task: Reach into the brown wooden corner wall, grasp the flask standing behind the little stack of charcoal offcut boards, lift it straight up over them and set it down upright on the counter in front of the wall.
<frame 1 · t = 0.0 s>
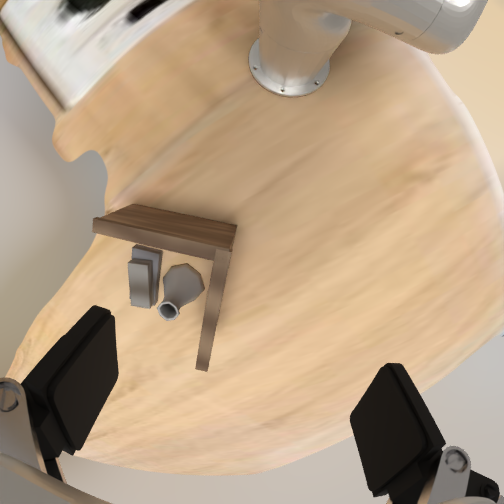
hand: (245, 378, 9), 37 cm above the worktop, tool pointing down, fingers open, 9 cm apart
offcut top: (143, 280, 46), point 2 cm above the worktop
brown wooden corner wall: (174, 270, 47), on the worktop
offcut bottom: (148, 272, 48), on the worktop
flask: (184, 282, 48), on the worktop
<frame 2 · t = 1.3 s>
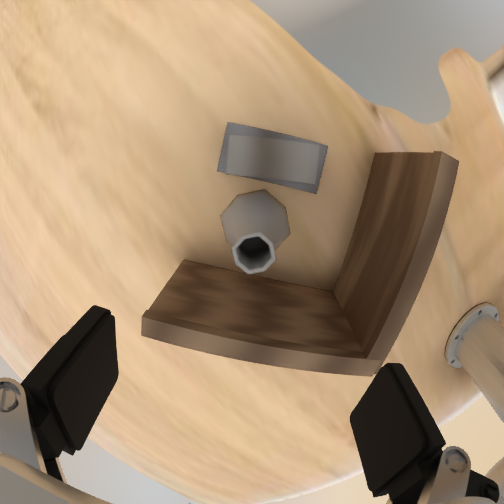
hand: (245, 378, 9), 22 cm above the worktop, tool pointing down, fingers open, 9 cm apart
offcut top: (271, 159, 26), point 2 cm above the worktop, touching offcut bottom
brown wooden corner wall: (278, 210, 29), on the worktop
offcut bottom: (271, 157, 28), on the worktop, touching offcut top
flask: (255, 223, 30), on the worktop
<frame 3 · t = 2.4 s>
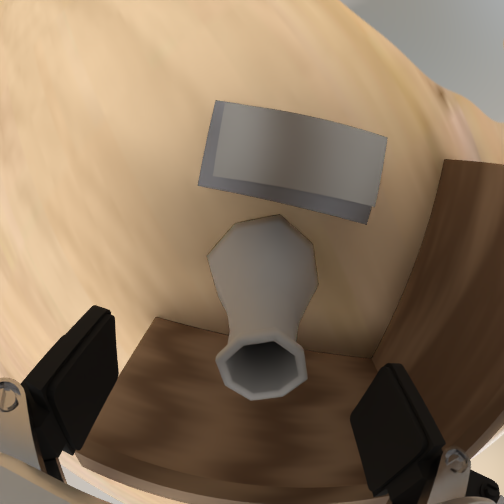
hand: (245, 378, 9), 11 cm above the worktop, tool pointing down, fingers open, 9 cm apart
offcut top: (298, 154, 15), point 2 cm above the worktop, touching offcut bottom
brown wooden corner wall: (300, 248, 18), on the worktop
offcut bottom: (291, 161, 17), on the worktop, touching offcut top
flask: (263, 268, 19), on the worktop
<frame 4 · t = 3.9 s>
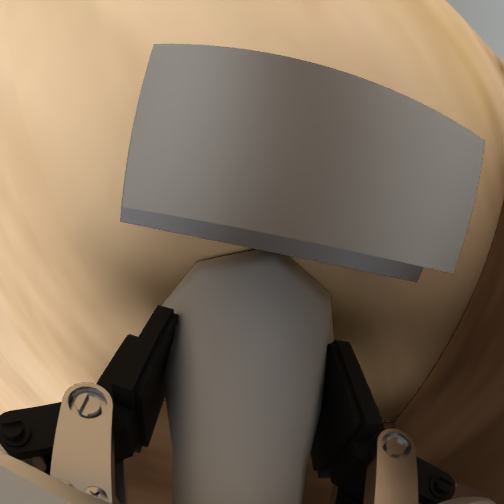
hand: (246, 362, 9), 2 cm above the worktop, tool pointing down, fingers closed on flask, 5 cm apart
offcut top: (310, 156, 7), point 2 cm above the worktop, touching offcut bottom
brown wooden corner wall: (309, 299, 11), on the worktop
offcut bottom: (290, 167, 10), on the worktop, touching offcut top
flask: (248, 327, 11), on the worktop, touching gripper
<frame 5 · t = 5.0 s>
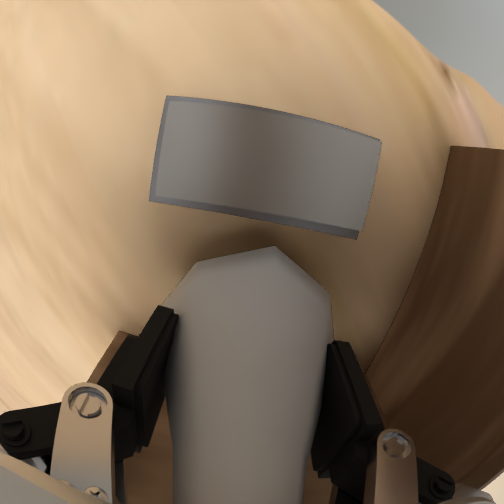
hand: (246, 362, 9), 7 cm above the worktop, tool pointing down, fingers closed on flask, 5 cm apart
offcut top: (266, 162, 12), point 2 cm above the worktop, touching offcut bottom
brown wooden corner wall: (281, 251, 15), on the worktop
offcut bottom: (263, 163, 14), on the worktop, touching offcut top
flask: (248, 327, 11), point 4 cm above the worktop, touching gripper
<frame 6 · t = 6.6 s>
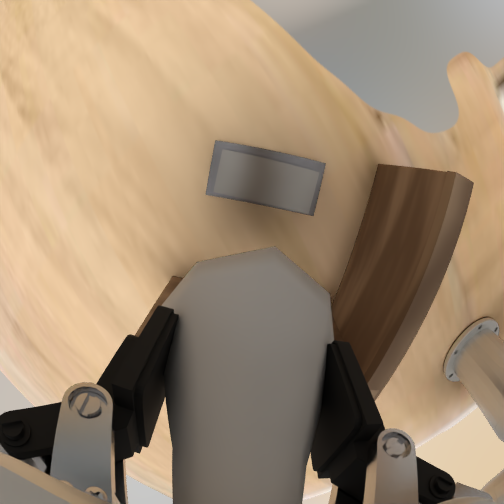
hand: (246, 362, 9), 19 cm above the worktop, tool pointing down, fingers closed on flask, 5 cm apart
offcut top: (265, 179, 24), point 2 cm above the worktop, touching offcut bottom
brown wooden corner wall: (273, 225, 27), on the worktop
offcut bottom: (264, 176, 27), on the worktop, touching offcut top
flask: (248, 328, 11), point 17 cm above the worktop, touching gripper
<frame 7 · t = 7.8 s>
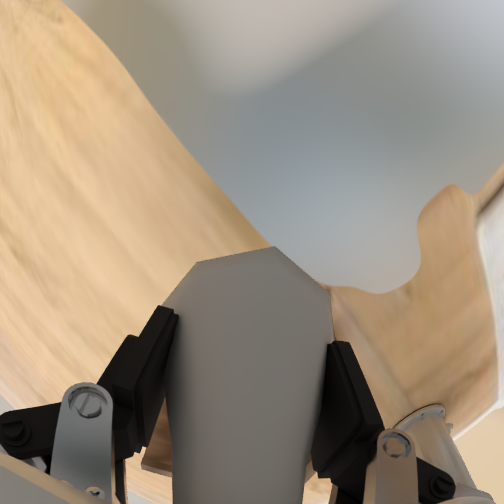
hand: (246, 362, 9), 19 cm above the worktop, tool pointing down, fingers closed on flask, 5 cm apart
brown wooden corner wall: (234, 372, 34), on the worktop
flask: (248, 328, 11), point 17 cm above the worktop, touching gripper
when the fingers open (3 cm above the worktop, at t = 11.8 s): flask stays where it is, on the worktop.
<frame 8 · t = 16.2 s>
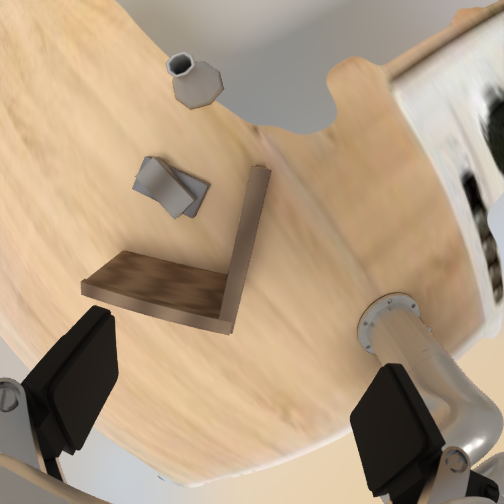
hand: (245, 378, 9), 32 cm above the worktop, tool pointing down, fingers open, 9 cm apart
offcut top: (169, 186, 36), point 2 cm above the worktop, touching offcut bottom
brown wooden corner wall: (182, 213, 40), on the worktop
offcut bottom: (173, 185, 39), on the worktop, touching offcut top
flask: (198, 85, 34), on the worktop
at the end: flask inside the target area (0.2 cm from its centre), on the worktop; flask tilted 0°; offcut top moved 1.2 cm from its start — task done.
